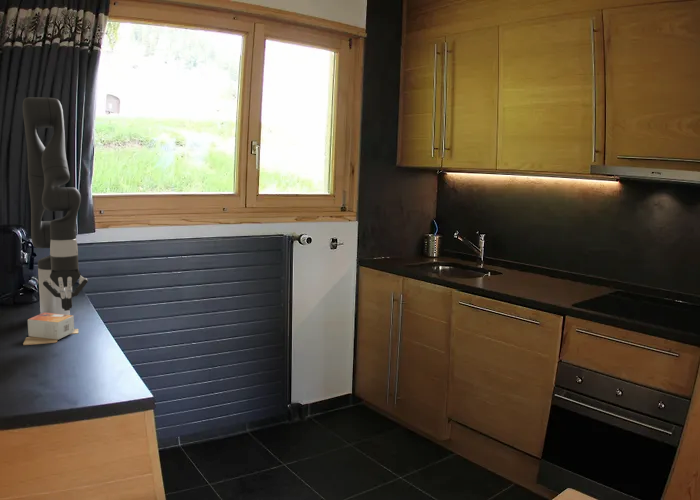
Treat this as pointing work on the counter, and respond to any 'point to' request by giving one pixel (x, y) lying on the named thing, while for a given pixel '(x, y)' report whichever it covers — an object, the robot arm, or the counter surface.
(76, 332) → the turner
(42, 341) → the plate
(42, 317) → the small box
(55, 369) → the counter surface
